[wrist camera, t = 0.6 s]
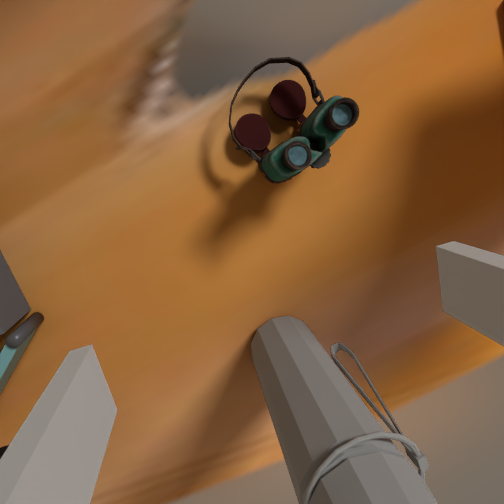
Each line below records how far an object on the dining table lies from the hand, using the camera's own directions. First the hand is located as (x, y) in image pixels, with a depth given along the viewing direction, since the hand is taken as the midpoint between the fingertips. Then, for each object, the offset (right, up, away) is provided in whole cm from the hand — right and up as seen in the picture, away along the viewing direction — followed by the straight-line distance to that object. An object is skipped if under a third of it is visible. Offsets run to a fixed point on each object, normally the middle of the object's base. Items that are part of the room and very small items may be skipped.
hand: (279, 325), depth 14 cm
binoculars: (+1, +15, +23) cm, 27 cm away
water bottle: (+3, -7, +28) cm, 29 cm away
